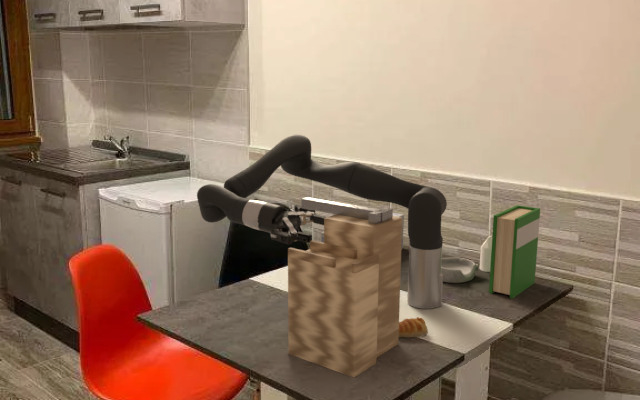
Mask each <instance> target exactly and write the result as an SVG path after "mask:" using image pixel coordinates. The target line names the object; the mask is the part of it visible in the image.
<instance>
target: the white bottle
mask: <svg viewBox="0 0 640 400" xmlns="http://www.w3.org/2000/svg"><path fill="white" fill-rule="evenodd" d="M491 250H492V235H490V236H488V237H487V238H486V240H485V241H484V242H483V243H482V244H481V246H480V258H479V270H480V271H482V272H484V273H485V272H486V273H490V266H491Z"/></svg>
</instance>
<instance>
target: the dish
mask: <svg viewBox="0 0 640 400" xmlns="http://www.w3.org/2000/svg"><path fill="white" fill-rule="evenodd" d="M479 269H480V264H478V263H475V262H474V261H473V260H470V259H468V258H465V257H464V258H463V257H462V258H461V257H442V265H441V272H442V274H443V283H450V284H451V283H453V284H461V283H467V282H470V281H472V280H473V279H474V278H475V275H476V272H477V271H479Z"/></svg>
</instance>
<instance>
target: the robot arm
mask: <svg viewBox="0 0 640 400" xmlns="http://www.w3.org/2000/svg"><path fill="white" fill-rule="evenodd" d="M280 167H281V169H282V170H283V171H284V172H285V173H287V174H289V175H290V176H295V177H298V178H301V179H305V180H310V181H313V182H317V183H320V184H324V185H327V186H329V187H332V188H336V189H338V190H341V191H343V192H345V193H348V194H350V195H353V196H356V197H359V198H361V199H364V200H365V199H366V200H369V201H374V202H375V201H376V202H384V203H391V204H395V205H399V206H401V207H404V208H406V209H407V237H408V239H409V241H408V243H409V244H408V247H409V248H408V273H407V293H406V294H407V304H408V305H409V306H411V307H413V308H416V309H417V308H418V309H434V308H437V307H442V306H443V284H444V282H443V274H442V272H441V265H442V258H443V242H444V240H443V236H442V215H443V214H444V213H445V211H446V209H447V205H448V204H447V199H446V197H445V195H444V194H443V193H442V192H441V191H440V190H439V189H437V188H435V187H433V186H432V187H431V186H427V185H423V184H419V183H418V184H417V183H414V182H410V181H406V180H404V179H400V178H398V177H396V176H394V175H391V174H389V173H386V172H385V171H381V170H379V169H376V168H374V167H371V166H370V165H369V166H368V165H366V164H362V163H360V162H356V161H345V162H340V163H336V164H324V163H322V162H318V161H316V160H314V159H312V142H311V140H310V139H309V138H308V137H307V136H305V135H303V134H298V133H297V134H291V135H288V136H286V137H284V138H283V139H282V140H280V142H278V143H277V144H275V146H274V147H272V148H271V149H270V150H269V151H267V152H265V154H264V155H263V156H261V157H260V158H259V159H257V161H255V162H254V163H253V164H251V165H250V166H248V167H247V168H245V169H242V170H241V171H240V172H238V173H236V174H235V175H233V176H231V177H229V178H228V179H226V180H225V181H224V184H223V186H221V185H219V184H213V183H212V184H211V183H209V184H205V185H202V186H201V187H200V188H198V190H197V192H196V199H197V203H198V207H199V211H200V215H201V218H202V219H203V220H204V221H205V222H207V223H218V222H221V221H222V220H224V219H225V218H227V220H229V221H230V222H232V223H234V224H238V225H242V226H246V227H249V228H251V229H254V230H257V231H262V232H266V233H269V234H270V238H271V240H273V241H275V242H279V243H282V244H286V245H288V246H289V245H292V244H293V242H297V241H298V242H302V243H306V244H308V243H309V244H310V241H312V240H313V235H312V234H311V233H308V232H307V233H306V232H303V231H298V232H297V230H298V228H300V227H301V226H306V225H307V224H309V223H313V224H317V225H322V226H324V218H326V216H324V215H320V214H318V213H317V214H316V211H315V210H310V209H304V208H301V205H299V204H294V205H293V208H294V209H293V210H287V209H285V207H284V206H282V205H279V204H275V203H271V202H267V201H263V200H256V199H250V198H248V197H249V196H251V195H253V194H255V193H256V192H257V191H259V190H260V189H261V188H262V187H263V186H264V185H265V184H266V182H267V181H269V179H270V178H271V176H272V175H273V174H274V172H276V171H277V170H278V168H280ZM301 218H302V219H301Z"/></svg>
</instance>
